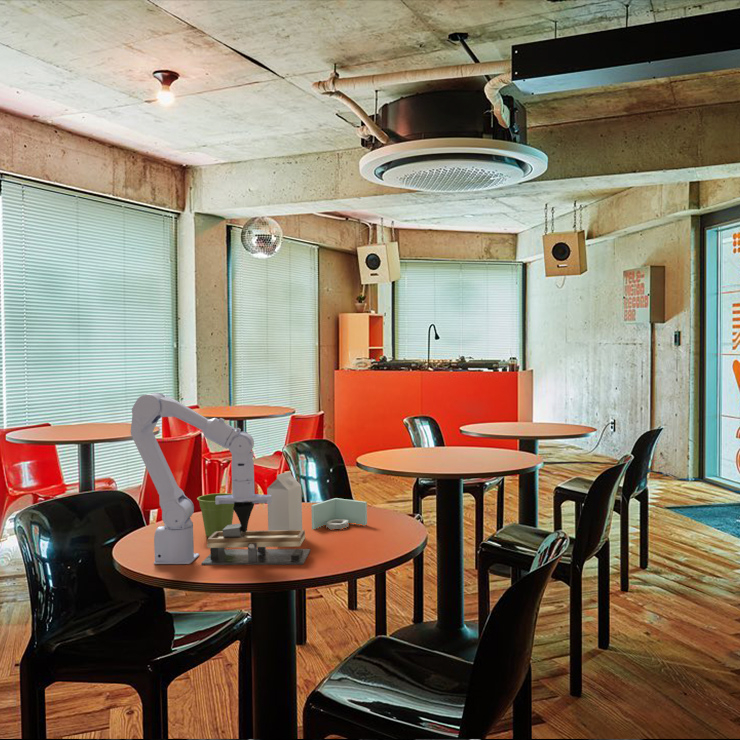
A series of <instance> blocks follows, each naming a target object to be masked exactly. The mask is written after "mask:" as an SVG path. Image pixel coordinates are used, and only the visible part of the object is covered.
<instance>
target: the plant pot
mask: <svg viewBox="0 0 740 740" xmlns="http://www.w3.org/2000/svg"><path fill="white" fill-rule="evenodd" d="M223 495H232V493H225V492H224V493H222V492H220V493H209V494H203V495H201V496H198V497H197V498H196V499H197V501H198V504H199V508H200V510H201V516H202V521H203V522H202V523H203V527H204V533H205V536H206V537H208V538H209V537H210V536H211V535H212V534H213V533H215V532H216V531H222V530H223V529H224V528H225V527H226V526H227V525H231V524H233V518H234V514H235V511H234V509H233V507H234V504H217V505H216V504H215V497H216V496H223Z"/></svg>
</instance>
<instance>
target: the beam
mask: <svg viewBox="0 0 740 740" xmlns="http://www.w3.org/2000/svg"><path fill="white" fill-rule="evenodd" d="M305 538H306V531H305V529H302V530H268V529H267V530H247V531H246V534H245V535H244V537H243V538H223V531H216V532H215V533H213V534H212V535H211V536H210V537H208V538H207V539H206V548H207V549H210V548H225V549H227V548H228V549H229V548H248V544H249V543H257V547H266V548H275V547H277V548H280V547H281V548H282V547H283V548H285V547H301V545H302V544H303V542H304V540H305Z"/></svg>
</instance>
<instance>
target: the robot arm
mask: <svg viewBox="0 0 740 740" xmlns="http://www.w3.org/2000/svg"><path fill="white" fill-rule="evenodd" d="M131 413H132V416H131V425H130V436H131V438H132V440H133V442H134V444H135V446H136V449H137V451H138V453H139V455H140V456H141V459H142V462H143V463H144V465H145V468H146V470H147V472H148V474H149V476H150V479H151V481H152V483H153V484H154V488H155V489H156V491H157V494H158V495H159V496H158V498H159V507H160V509H161V519H162V522H163V524H164V526H163V525H160V526H158V527H156V529H155V531H154V538H153V543H154V544H153V545H154V549H153V551H154V562H153V564H154V565H190V564H191V563H192V562H194V561H195V560H196V559H197V558H198V557H199V556H200V553H197V552H196V553H195V552H194V550H195V548H194V547H195V546H194V544H195V543H194V522H193V521H192V519H191V517H192V516H193V514H194V511H195V506H194V505H195V504H194V503H193V501H192V500H191V499H190V498H188V496H186V495H185V492H184V491H183V489H182V488H180V487H179V485H178V483H177V481H176V479H175V476H174V474H173V473H172V470H171V468H170V466H169V464H168V462H167V460H166V457H165V455H164V452H163V451H162V449H161V447H160V444H159V442H158V440H157V438H156V436H155V434H154V430H155V428H156V426H157V425H158V424H157V423H158V422H159V420H160V419H161V418H171V417H173V418H176V419H179V421H183V422H184V423H186V424H189V425H191V426H193V427H195V428H197V429H199V430H201V431H202V434H203V437H204V438H205V439H208V440H209V441H211V442H213V443H215V444H216V445H219V446H221V447H222V448H225V449H228V450H229V452H230V454H231V462H230V463H231V464H230V465H231V487H232V488H231V490H232V491H231V492H232V493H231V494H232V495H223V496H216V497H215V504H216V505H217V504H234V507H233V509H234V514H236V516H237V518H238V521H239V523H240V524H241V527H242V532H246V531H248V526H249V520H250V517H251V514H252V511H253V508H254V507H255V504H266V505H268V504H271V503H272V495H267V494H259V493H257V494H256V493H255V492H256V491H255V464H254V463H255V462H254V461H255V460H253V459H254V453H253V451H252V450H253V449H254V446H255V441H254V437H253V436H252V435H251V434H250V433H249V432H248V431H241V430H242V429H241V428H240V427H237V428H236V427H234V426H231V425H230V424H228V423H226V422H225V420H226V419H224V418H222V417H220V418H217V417H213V418H207V417H205V416H204V415H202V414H200V413H199V412H196V411H195V410H193V409H192V408H190V407H189V406H187V405H185V404H183V403H181V402H180V401H178V400H176V399H174V398H172V397H169V396H165V395H164V394H162V393H161V392H152V393H148V394H143V395H141V396H139V397H138V398H137V399H136V400H135V403H134V404H133V406H132V408H131Z"/></svg>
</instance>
